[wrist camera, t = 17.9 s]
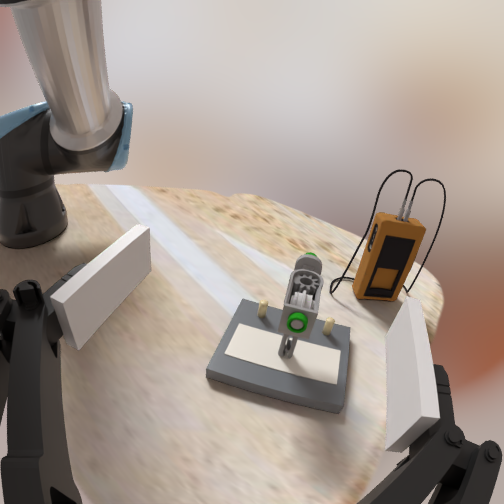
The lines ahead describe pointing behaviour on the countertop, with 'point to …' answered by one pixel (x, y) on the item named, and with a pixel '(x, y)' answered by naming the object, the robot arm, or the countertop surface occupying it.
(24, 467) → the robot arm
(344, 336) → the board
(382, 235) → the multimeter
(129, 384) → the countertop surface
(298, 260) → the mechanical component
